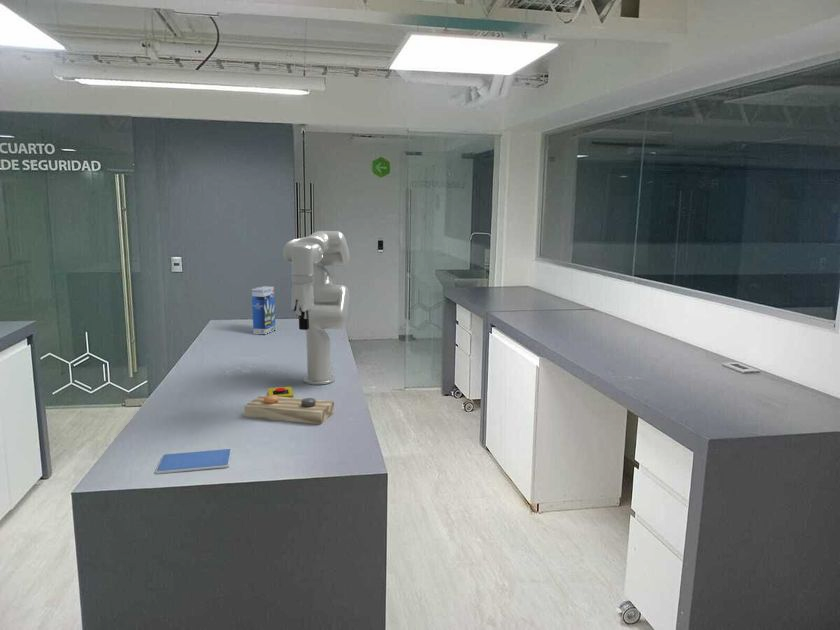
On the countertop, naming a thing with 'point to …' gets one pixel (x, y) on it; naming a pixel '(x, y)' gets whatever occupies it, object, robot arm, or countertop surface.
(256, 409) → the control block
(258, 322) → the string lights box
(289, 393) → the emergency button
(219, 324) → the countertop surface
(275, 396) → the orange knob
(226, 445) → the countertop surface
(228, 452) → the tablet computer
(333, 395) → the countertop surface
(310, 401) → the gray knob
